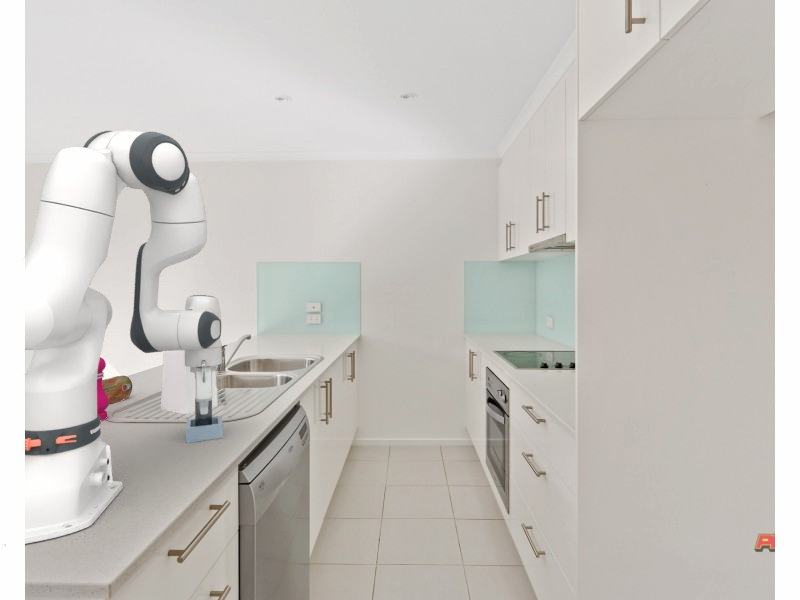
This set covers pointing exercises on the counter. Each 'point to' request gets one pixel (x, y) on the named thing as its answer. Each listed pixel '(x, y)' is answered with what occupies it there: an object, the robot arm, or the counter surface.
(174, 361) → the milk
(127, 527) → the counter surface
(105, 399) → the pepper mill
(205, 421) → the cell
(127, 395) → the tin
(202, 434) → the light blue square tray
